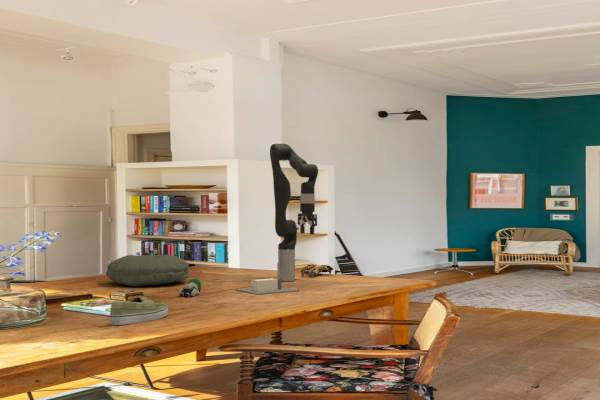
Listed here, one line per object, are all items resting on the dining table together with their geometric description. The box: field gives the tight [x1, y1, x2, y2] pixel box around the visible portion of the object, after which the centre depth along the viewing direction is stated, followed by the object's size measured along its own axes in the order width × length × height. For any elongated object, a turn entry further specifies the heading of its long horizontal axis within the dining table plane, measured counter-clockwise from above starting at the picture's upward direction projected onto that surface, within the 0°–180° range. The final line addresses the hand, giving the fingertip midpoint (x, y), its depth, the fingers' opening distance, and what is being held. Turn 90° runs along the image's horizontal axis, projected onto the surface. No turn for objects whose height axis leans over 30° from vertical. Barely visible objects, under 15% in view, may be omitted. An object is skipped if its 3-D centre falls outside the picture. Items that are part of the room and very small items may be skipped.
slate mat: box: [235, 286, 300, 296], centre depth 360 cm, size 20×24×1 cm
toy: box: [178, 278, 202, 298], centre depth 342 cm, size 9×7×15 cm
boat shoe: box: [108, 295, 169, 326], centre depth 274 cm, size 10×29×9 cm, turn 153°
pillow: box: [105, 254, 190, 287], centre depth 388 cm, size 43×15×41 cm
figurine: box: [300, 263, 334, 278], centre depth 430 cm, size 19×6×30 cm
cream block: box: [251, 277, 282, 291], centre depth 359 cm, size 5×5×14 cm
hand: (307, 233), depth 380 cm, fingers open, 8 cm apart
